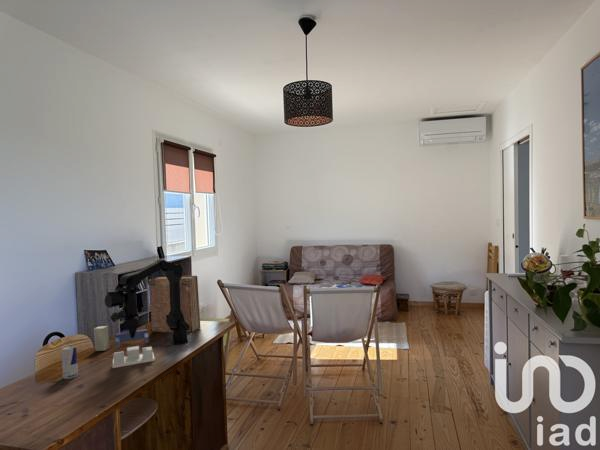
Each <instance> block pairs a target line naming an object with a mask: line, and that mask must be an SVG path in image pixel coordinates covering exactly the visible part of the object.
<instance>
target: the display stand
mask: <svg viewBox="0 0 600 450" xmlns="http://www.w3.org/2000/svg"><path fill="white" fill-rule="evenodd" d="M141 350H142V353H140V345H136V346H128V347H126V356H125V351H123V350H122V351H117V352H113V358H112V366H111V367H112V369H115V368H122V367H126V366H132V365H139V364H144V363H150V362H154V361H155V354H154V351H153V347H152V346H146V347H142V348H141Z"/></svg>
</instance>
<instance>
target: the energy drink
mask: <svg viewBox="0 0 600 450" xmlns="http://www.w3.org/2000/svg"><path fill="white" fill-rule="evenodd" d="M77 351H78V350H77V346H76V345H68V346H64V347H62V348H61V351H60V352H61V363H62V364H61V366H62V378H63V379H65V380H70V379H74V378H76V377H78V375H79V368H78V367H79V366H78V355H77V353H78V352H77Z"/></svg>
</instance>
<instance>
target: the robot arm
mask: <svg viewBox="0 0 600 450" xmlns="http://www.w3.org/2000/svg"><path fill="white" fill-rule="evenodd" d="M159 271H162V272H165V276H166V277H167V279H168V281H169V288H170V313H169V315H166V323H167V325H168V326H169V328H170V330H173V333H171V341H172V343H173V345H181V344H186V343H187V344H188V342H189V341H188V335H187V334H188V333H187V330H189V325H188V324H187V323H186V322H185V320H184V315H183V313H182V312H181V306H180V280H181V278H182V276H183V272H184V267H183V266H182V265H181V264H179V263H173V262H170V261H167V260H165V259H156V260H155V261H154V262H152V263H150V264H148V265H146V266H145V267H143V268H141V269H138V270H137V271H134V272H130V273H125V274H123V275H121V276H119V281H118V283H117V285H116V286H115V289H114V290H112V291H106V295H105V298H104V305H105V306H106V308H108V309H110V308H115V307H119V306H122V308H120V309H119V310H116V311H115V312H112V313H110V314H109V317H110V320H111V322H112V323H115V322H117V321H119V320H121V319H123V322H122V323H123V327H124V328H128V332H130V336H131V338H134V336H135V333H136V331H138V326H139V325H140V319H139V310H138V298H137V292H140V291H142V290H141V288H139V287H138V285H139V284H141V282H142V281H143V280H144V279H146V278H147V277H149V276H152V275H153V274H154V273H157V272H159Z"/></svg>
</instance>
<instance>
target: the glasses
mask: <svg viewBox="0 0 600 450" xmlns="http://www.w3.org/2000/svg"><path fill="white" fill-rule="evenodd" d="M115 337H116V338H115V348H120V346H121V343H122V342H123V343H124V342H129V341H136V340H142V339H144V343H149V341H150V340H149V334H148V329H147V328H146V329H145V328H144V329H137V330H136V333H135V336H134V338H131V336H130V332H129V331H125V332H119V333H115Z"/></svg>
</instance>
